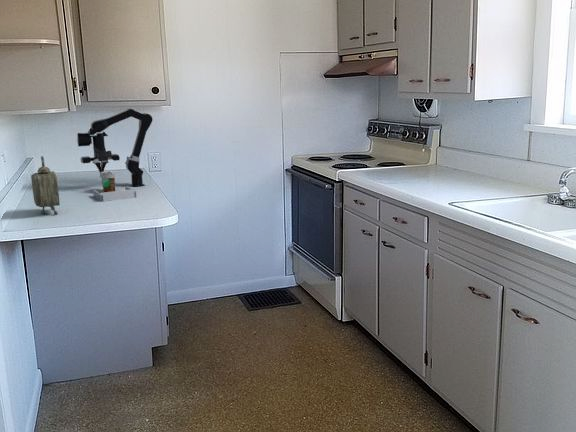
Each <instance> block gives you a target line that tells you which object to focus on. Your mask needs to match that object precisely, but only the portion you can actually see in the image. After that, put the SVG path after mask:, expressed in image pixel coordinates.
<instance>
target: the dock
mask: <svg viewBox="0 0 576 432" xmlns="http://www.w3.org/2000/svg"><path fill="white" fill-rule="evenodd" d="M92 193H93V194H92V195H93V197H95V199H97V200H98V201H99V202H109V201H116V200H117V201H118V200H126V199H133V198H137V189H136V188H131V187H129V186H128V185H127V186H125V189H123V190H115V191H113V192H104V191H103V192H99V191H98V190H96V189H93V191H92Z"/></svg>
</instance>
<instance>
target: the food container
mask: <svg viewBox="0 0 576 432" xmlns="http://www.w3.org/2000/svg"><path fill="white" fill-rule="evenodd" d="M99 178H101V184H102V190H103V193H104V192H113V191H116V181H115V180H116V179H115V173H113V172H111V170H104V172H101V174H100V173H99Z"/></svg>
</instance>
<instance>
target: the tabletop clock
mask: <svg viewBox="0 0 576 432" xmlns="http://www.w3.org/2000/svg"><path fill="white" fill-rule="evenodd" d="M40 159H41V166H40V167H38V169H37V172H35V173H32V174H31V175H30V177H31V178H30V180H31V186H32V187H31V188H32V196H33V201H34V204H35V206H36V207H39V208H42V209H41V211H40V214H42V215H43V214H45V213H46V212H45V208H47V207H49V208H50V210H53V214H54V215H55V216H57V215H58V214H59V212H58V211H57V210H55V209H56V207H57V206H60V202H61V201H60V194H59V193H60V192H59V185H58V177H57V173H56V172H55V171H53V170H51V169H50V167H48V166H46V165H45V158H44V156H43V155H41V156H40Z"/></svg>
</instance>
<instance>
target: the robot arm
mask: <svg viewBox="0 0 576 432" xmlns="http://www.w3.org/2000/svg"><path fill="white" fill-rule="evenodd" d="M129 118H134V119H136V120H138V129H137V130H138V131H137V134H136V137H135V142H134V145H133V147H132V152H131V154H130V156H126V160H125V162H124V164H125V167H126V170H128V171H129V172H130V174H131V175H130V176H131V183H130V184H129V185H130V186H131V187H133V188H135V187H142V186H146V184H145V183H143V182H144V181H143V175H144V170H142V169H141V167H140V155H141V152H142V149H143V145H144V142H145V139H146V134H147V132H148V130H149V128H150V127H151V125H152V123H153V116H152V115H151V114H150V113H147V112H145V113H142V112H139V111H137V110H134V109H132V108H128V109H125V110H124V111H121V112H119V113H116V114H114V115H112V116H109V117H106V118H101V119H97V120H94V121H92V122H91V123H90V128H89V129H88V132H78V133H76V134H77V135H76V140H77V141H76V142H77V147H78V148H79V147H90V145H92V149H93V157H90V156H89V155H87V156H86V155H85V156H81V157H80V163H81V164H90V163H91V162H92V164H94V165H95V166H96V168H97V170H98V172H99V175H100V174H101V172H104V171H105V168H106V165H107V164H108V163H109V160H112V161H115V162H116V161H120V155H119V154H116V153H112V150H107V149H106V146H105V145H106V144H105V137H108V133H106V132H105V130H106V129H108V128H109V127H110V126H112V125H114V124H116V123H117V124H118V123H119V122H122V121H125V120H126V119H129Z"/></svg>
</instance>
